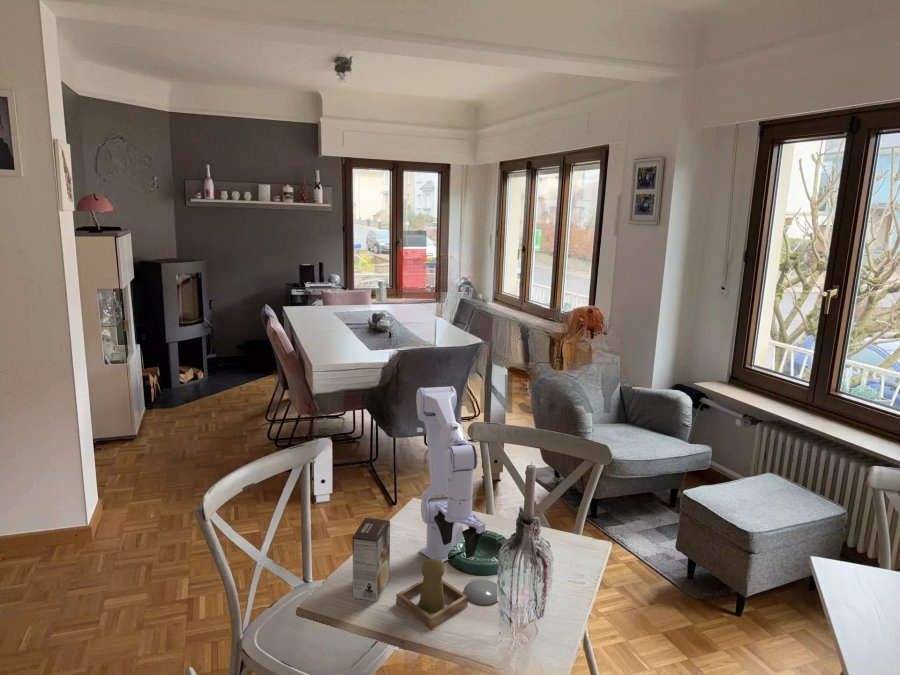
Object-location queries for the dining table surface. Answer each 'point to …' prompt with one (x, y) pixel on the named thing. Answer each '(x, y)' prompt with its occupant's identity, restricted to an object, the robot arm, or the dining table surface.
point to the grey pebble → (481, 592)
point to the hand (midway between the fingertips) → (458, 549)
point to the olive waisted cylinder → (432, 587)
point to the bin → (441, 615)
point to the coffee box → (371, 559)
